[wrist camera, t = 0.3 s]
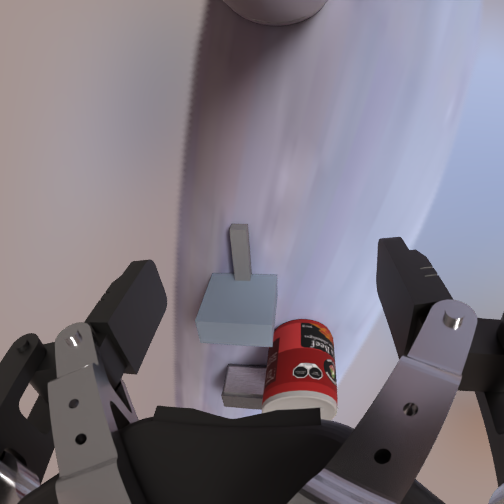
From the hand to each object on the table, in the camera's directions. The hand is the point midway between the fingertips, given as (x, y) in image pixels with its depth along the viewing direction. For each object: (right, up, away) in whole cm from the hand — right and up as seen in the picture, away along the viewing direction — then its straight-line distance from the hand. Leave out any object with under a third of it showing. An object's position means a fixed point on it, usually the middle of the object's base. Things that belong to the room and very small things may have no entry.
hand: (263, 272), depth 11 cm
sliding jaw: (-1, -1, +23) cm, 23 cm away
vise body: (0, -16, +33) cm, 37 cm away
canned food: (+6, -10, +28) cm, 30 cm away
